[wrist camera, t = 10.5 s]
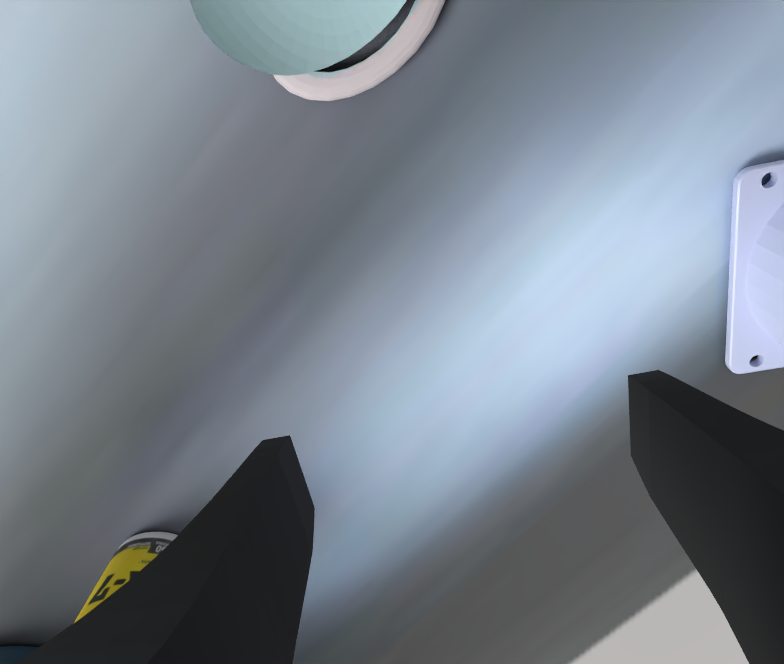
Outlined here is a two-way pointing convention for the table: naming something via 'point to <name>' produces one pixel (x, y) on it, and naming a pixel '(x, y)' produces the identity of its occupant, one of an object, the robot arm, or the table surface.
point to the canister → (14, 653)
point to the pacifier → (316, 39)
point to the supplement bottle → (127, 565)
